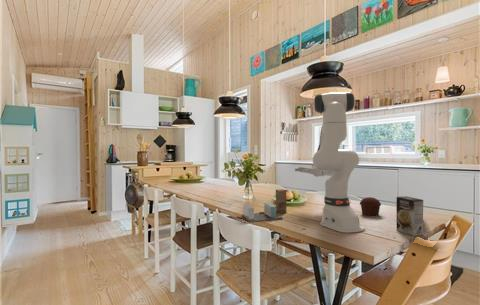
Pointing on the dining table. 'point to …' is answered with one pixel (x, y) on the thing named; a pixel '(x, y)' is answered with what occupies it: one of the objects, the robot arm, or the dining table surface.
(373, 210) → the muffin
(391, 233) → the dining table surface
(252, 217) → the vise
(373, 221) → the dining table surface
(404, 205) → the coffee box
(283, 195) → the walnut block
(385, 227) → the dining table surface
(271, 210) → the sliding jaw
